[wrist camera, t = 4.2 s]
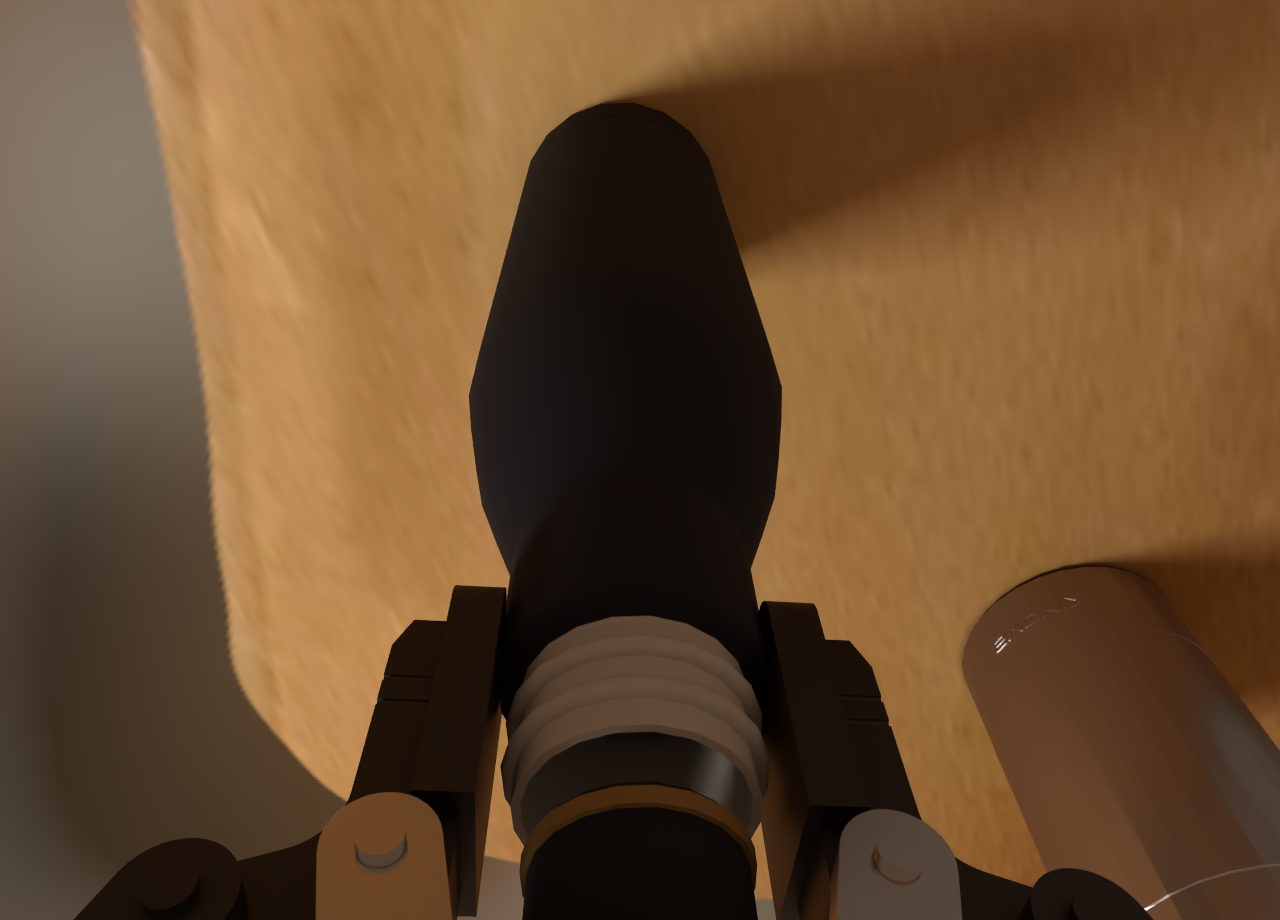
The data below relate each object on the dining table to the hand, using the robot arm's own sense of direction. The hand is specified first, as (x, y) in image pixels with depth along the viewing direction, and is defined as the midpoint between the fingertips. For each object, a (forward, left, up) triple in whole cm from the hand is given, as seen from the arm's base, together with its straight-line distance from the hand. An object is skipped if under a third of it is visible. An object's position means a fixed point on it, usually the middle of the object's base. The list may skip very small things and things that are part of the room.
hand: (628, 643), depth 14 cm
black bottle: (0, 0, -21) cm, 21 cm away
